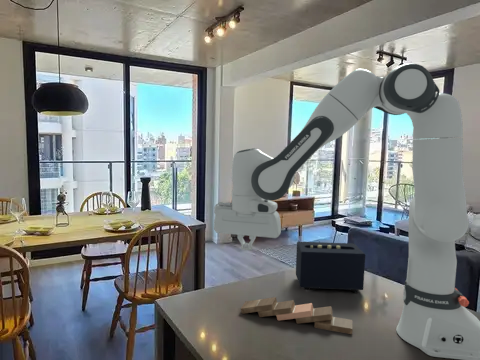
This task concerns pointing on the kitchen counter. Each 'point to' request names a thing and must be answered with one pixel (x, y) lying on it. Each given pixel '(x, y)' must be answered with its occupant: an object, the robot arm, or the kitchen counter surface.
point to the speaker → (330, 266)
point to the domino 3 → (298, 312)
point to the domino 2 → (279, 309)
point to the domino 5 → (336, 325)
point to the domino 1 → (259, 305)
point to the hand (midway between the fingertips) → (246, 249)
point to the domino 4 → (317, 315)
